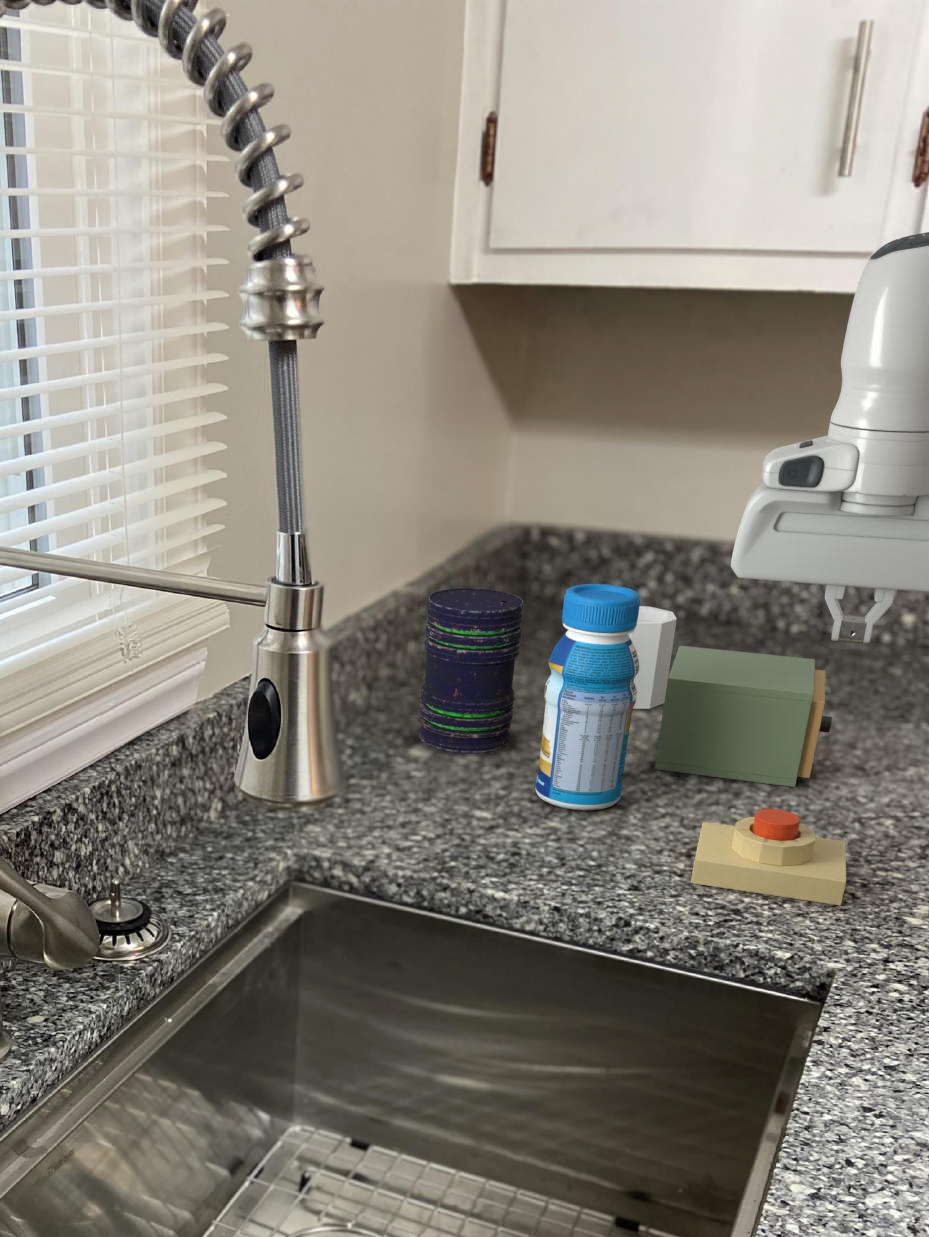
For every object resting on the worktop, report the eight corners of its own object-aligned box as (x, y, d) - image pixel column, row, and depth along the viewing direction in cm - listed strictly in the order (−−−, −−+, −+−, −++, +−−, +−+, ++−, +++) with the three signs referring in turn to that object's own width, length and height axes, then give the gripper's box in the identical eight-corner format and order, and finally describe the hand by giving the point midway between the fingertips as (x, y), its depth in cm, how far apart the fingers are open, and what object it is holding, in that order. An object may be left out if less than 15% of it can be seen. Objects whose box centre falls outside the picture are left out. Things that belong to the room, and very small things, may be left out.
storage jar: (409, 747, 153) (419, 606, 146) (426, 718, 161) (436, 584, 155) (504, 757, 150) (518, 615, 144) (516, 728, 159) (530, 592, 152)
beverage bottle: (577, 819, 136) (604, 607, 126) (514, 791, 142) (536, 587, 133) (640, 802, 140) (670, 595, 131) (576, 775, 146) (601, 576, 137)
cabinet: (797, 747, 154) (815, 659, 150) (795, 787, 144) (813, 693, 139) (666, 731, 158) (679, 645, 154) (654, 769, 148) (667, 678, 143)
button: (796, 831, 124) (800, 812, 124) (795, 846, 121) (799, 827, 121) (753, 825, 126) (756, 806, 125) (751, 840, 123) (754, 821, 122)
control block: (840, 864, 127) (849, 822, 125) (841, 905, 120) (850, 861, 118) (699, 843, 131) (705, 802, 129) (690, 883, 123) (697, 840, 121)
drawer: (823, 743, 152) (838, 671, 149) (822, 780, 143) (838, 704, 139) (688, 727, 157) (700, 657, 153) (679, 762, 147) (691, 687, 144)
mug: (671, 693, 171) (684, 610, 166) (655, 713, 164) (668, 628, 159) (571, 679, 175) (580, 598, 171) (551, 698, 168) (561, 614, 164)
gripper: (1029, 464, 111) (987, 642, 117) (748, 451, 117) (723, 620, 123) (1039, 478, 106) (994, 663, 112) (744, 463, 112) (718, 639, 118)
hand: (850, 640), depth 118 cm, fingers closed
